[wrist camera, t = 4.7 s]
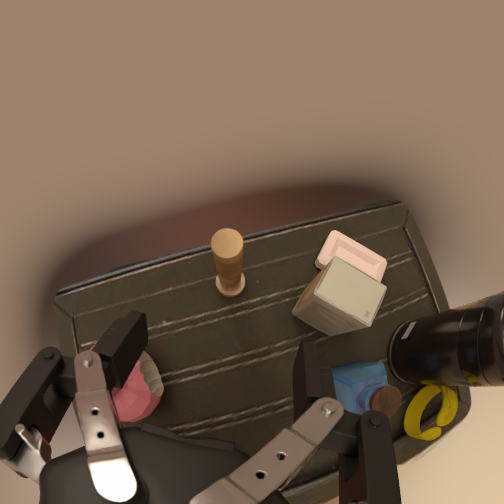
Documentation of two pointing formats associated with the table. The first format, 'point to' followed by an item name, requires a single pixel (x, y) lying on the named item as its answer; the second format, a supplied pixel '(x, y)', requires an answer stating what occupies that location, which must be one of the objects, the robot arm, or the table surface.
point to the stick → (228, 262)
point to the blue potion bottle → (365, 388)
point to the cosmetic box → (340, 299)
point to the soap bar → (351, 255)
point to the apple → (139, 391)
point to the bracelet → (419, 404)
